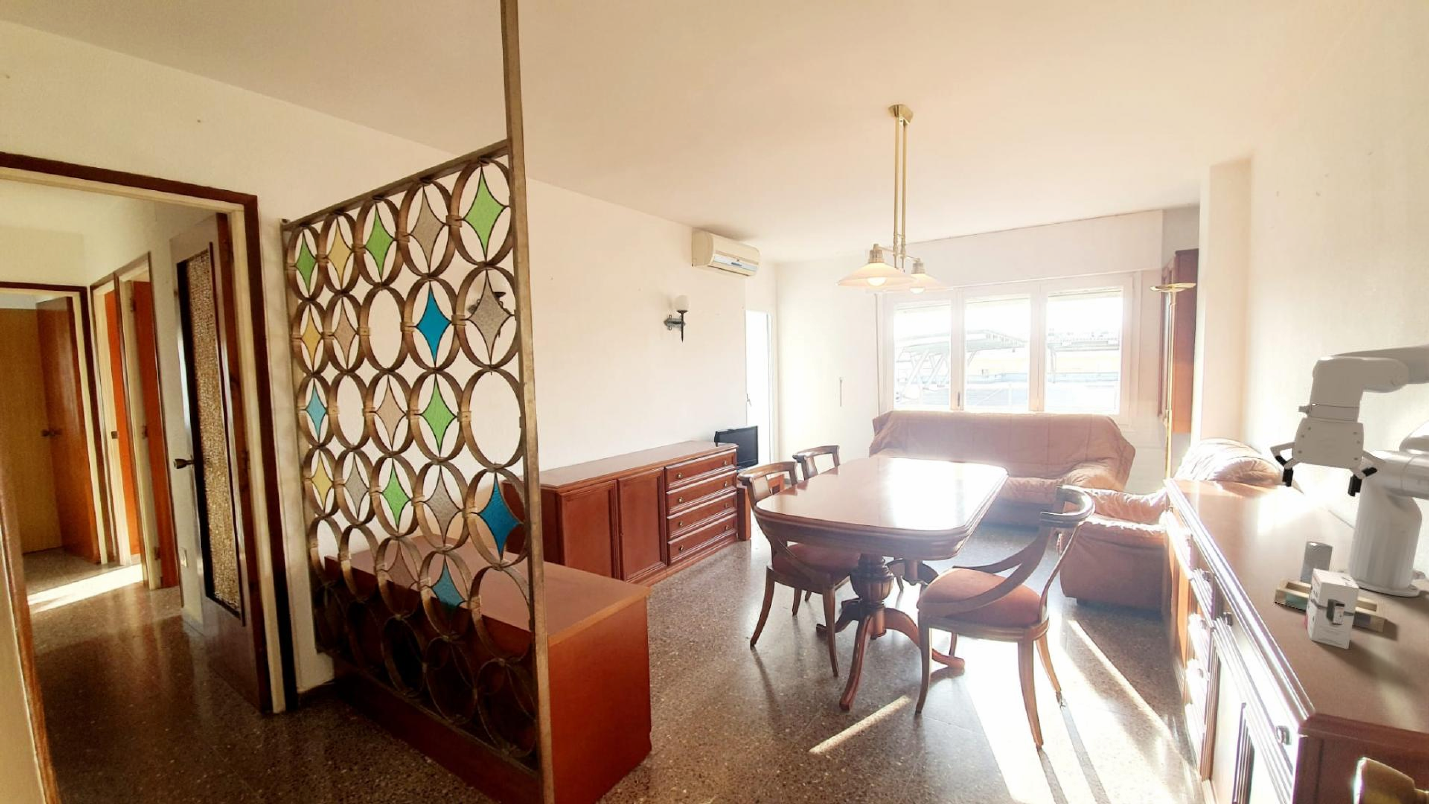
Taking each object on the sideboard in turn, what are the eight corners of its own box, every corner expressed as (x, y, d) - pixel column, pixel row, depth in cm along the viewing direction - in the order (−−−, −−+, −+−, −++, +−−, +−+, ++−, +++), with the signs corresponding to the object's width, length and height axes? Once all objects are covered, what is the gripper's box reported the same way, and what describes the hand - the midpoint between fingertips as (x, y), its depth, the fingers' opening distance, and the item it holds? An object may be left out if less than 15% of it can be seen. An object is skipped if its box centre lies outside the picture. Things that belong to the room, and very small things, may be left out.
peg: (1309, 587, 128) (1317, 541, 127) (1329, 595, 124) (1338, 548, 123) (1293, 587, 128) (1301, 541, 127) (1313, 595, 124) (1321, 548, 123)
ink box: (1302, 623, 112) (1312, 566, 110) (1338, 631, 109) (1349, 573, 107) (1310, 640, 105) (1320, 580, 103) (1349, 650, 102) (1360, 588, 100)
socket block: (1273, 602, 120) (1275, 589, 120) (1280, 590, 126) (1282, 577, 126) (1381, 633, 109) (1384, 618, 108) (1383, 617, 115) (1385, 603, 115)
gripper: (1278, 410, 125) (1265, 485, 127) (1398, 420, 113) (1382, 503, 116) (1275, 408, 130) (1263, 479, 132) (1389, 417, 119) (1374, 496, 121)
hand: (1318, 490), depth 124 cm, fingers open, 9 cm apart
